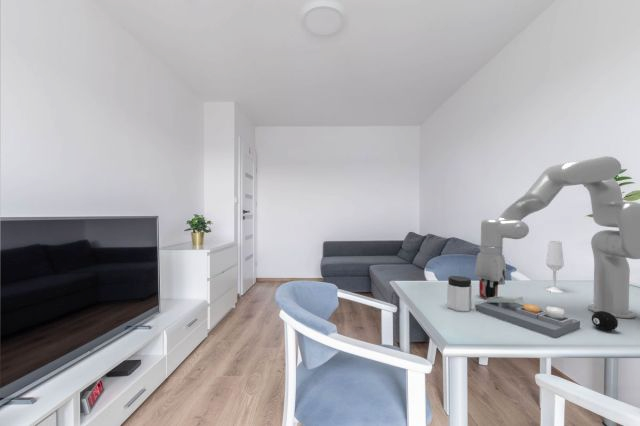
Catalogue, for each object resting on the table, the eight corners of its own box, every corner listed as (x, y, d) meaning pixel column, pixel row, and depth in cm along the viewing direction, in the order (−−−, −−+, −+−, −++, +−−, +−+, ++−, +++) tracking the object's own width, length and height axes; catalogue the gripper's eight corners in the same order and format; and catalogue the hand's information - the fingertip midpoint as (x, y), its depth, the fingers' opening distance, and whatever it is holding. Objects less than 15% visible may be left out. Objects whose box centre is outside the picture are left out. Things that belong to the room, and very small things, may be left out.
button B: (528, 309, 104) (528, 303, 104) (542, 313, 100) (542, 307, 100) (520, 311, 102) (520, 305, 102) (535, 316, 98) (535, 309, 97)
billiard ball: (586, 326, 97) (586, 308, 96) (602, 325, 97) (603, 308, 97) (605, 334, 91) (606, 315, 91) (622, 333, 91) (623, 314, 91)
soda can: (500, 301, 123) (500, 273, 123) (482, 299, 124) (482, 272, 124) (493, 296, 130) (494, 269, 130) (476, 295, 131) (477, 269, 131)
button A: (550, 312, 97) (550, 305, 97) (567, 317, 93) (567, 309, 93) (543, 314, 95) (543, 307, 95) (559, 319, 91) (559, 312, 91)
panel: (500, 304, 118) (501, 294, 118) (580, 328, 95) (580, 316, 95) (475, 310, 111) (475, 300, 111) (554, 338, 88) (554, 324, 88)
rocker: (494, 300, 115) (493, 296, 115) (523, 300, 105) (522, 295, 106) (487, 302, 113) (485, 297, 113) (515, 302, 103) (514, 297, 103)
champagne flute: (566, 293, 135) (567, 242, 134) (550, 292, 136) (551, 242, 135) (557, 289, 141) (558, 240, 141) (542, 288, 142) (543, 240, 142)
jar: (476, 310, 111) (476, 280, 111) (460, 313, 109) (460, 281, 108) (458, 303, 120) (458, 274, 120) (442, 305, 117) (443, 276, 117)
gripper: (468, 248, 118) (466, 292, 119) (504, 254, 105) (503, 303, 105) (479, 247, 122) (478, 290, 122) (516, 252, 108) (515, 300, 109)
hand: (490, 296), depth 114 cm, fingers closed
